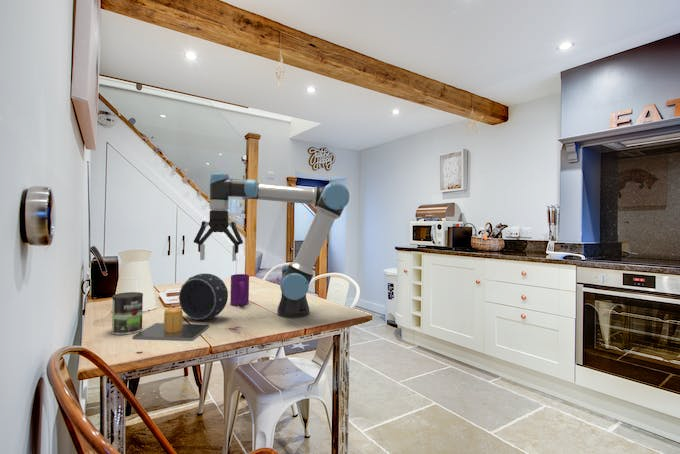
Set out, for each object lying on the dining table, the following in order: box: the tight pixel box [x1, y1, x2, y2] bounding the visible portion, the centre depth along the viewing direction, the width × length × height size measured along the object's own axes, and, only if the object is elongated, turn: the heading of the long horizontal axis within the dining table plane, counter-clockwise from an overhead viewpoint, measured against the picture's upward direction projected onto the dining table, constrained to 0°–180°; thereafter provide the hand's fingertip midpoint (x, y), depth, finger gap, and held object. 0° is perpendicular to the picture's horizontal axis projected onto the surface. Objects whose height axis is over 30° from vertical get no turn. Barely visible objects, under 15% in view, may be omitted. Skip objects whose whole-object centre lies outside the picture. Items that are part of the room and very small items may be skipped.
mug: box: [230, 273, 250, 307], centre depth 179 cm, size 9×16×15 cm, turn 24°
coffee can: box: [111, 291, 144, 336], centre depth 137 cm, size 10×10×14 cm
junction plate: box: [132, 322, 210, 342], centre depth 136 cm, size 22×16×7 cm
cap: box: [163, 307, 184, 333], centre depth 136 cm, size 6×6×8 cm
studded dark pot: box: [178, 273, 229, 322], centre depth 154 cm, size 11×20×20 cm, turn 78°
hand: (218, 260), depth 149 cm, fingers open, 13 cm apart
